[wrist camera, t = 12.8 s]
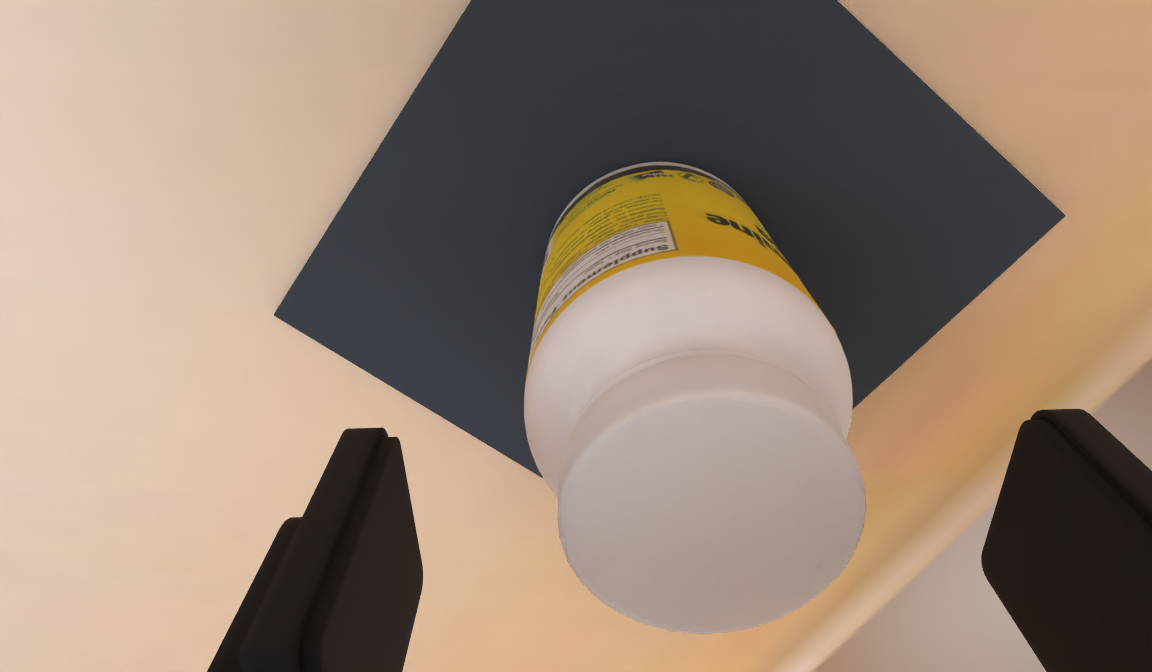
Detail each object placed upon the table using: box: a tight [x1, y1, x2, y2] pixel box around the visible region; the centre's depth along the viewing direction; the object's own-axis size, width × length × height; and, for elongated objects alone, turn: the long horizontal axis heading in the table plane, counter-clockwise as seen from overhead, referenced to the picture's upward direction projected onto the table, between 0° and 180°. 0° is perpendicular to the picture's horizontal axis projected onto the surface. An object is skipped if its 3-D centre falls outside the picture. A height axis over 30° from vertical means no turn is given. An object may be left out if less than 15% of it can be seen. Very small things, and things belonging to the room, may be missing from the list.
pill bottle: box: [524, 162, 866, 634], centre depth 16 cm, size 6×6×11 cm
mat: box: [274, 0, 1065, 478], centre depth 21 cm, size 16×16×1 cm
